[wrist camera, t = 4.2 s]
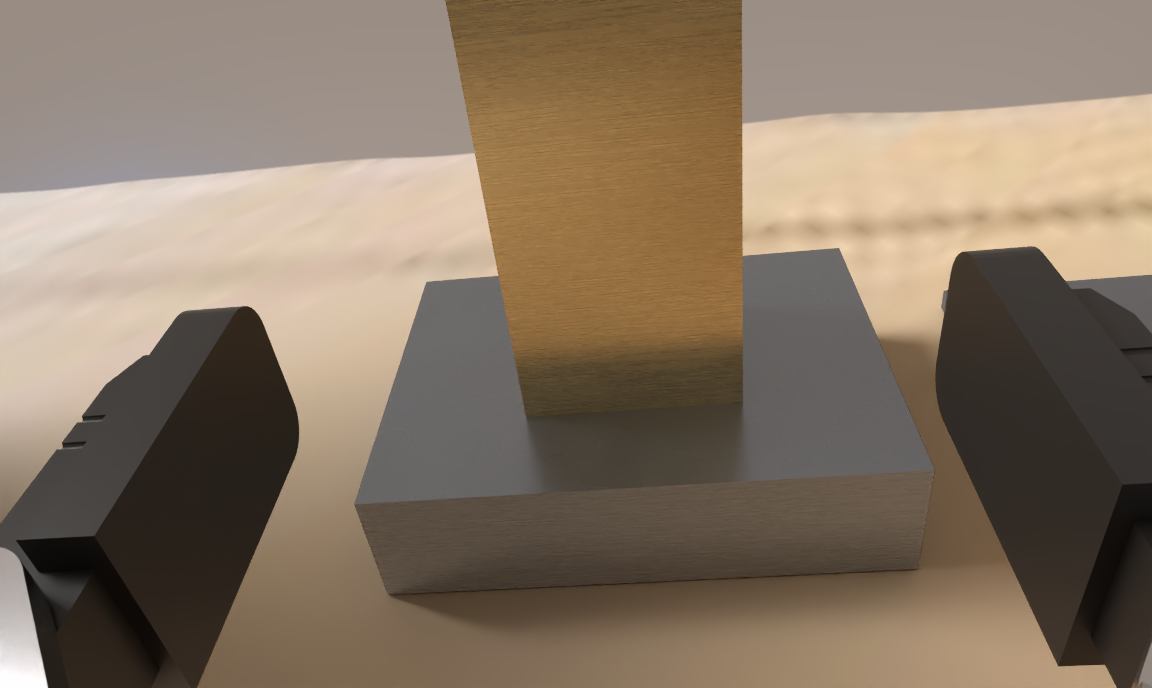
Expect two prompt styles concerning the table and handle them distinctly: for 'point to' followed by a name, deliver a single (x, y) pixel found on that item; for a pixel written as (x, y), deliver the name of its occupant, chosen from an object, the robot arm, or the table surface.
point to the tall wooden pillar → (612, 194)
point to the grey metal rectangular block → (648, 455)
